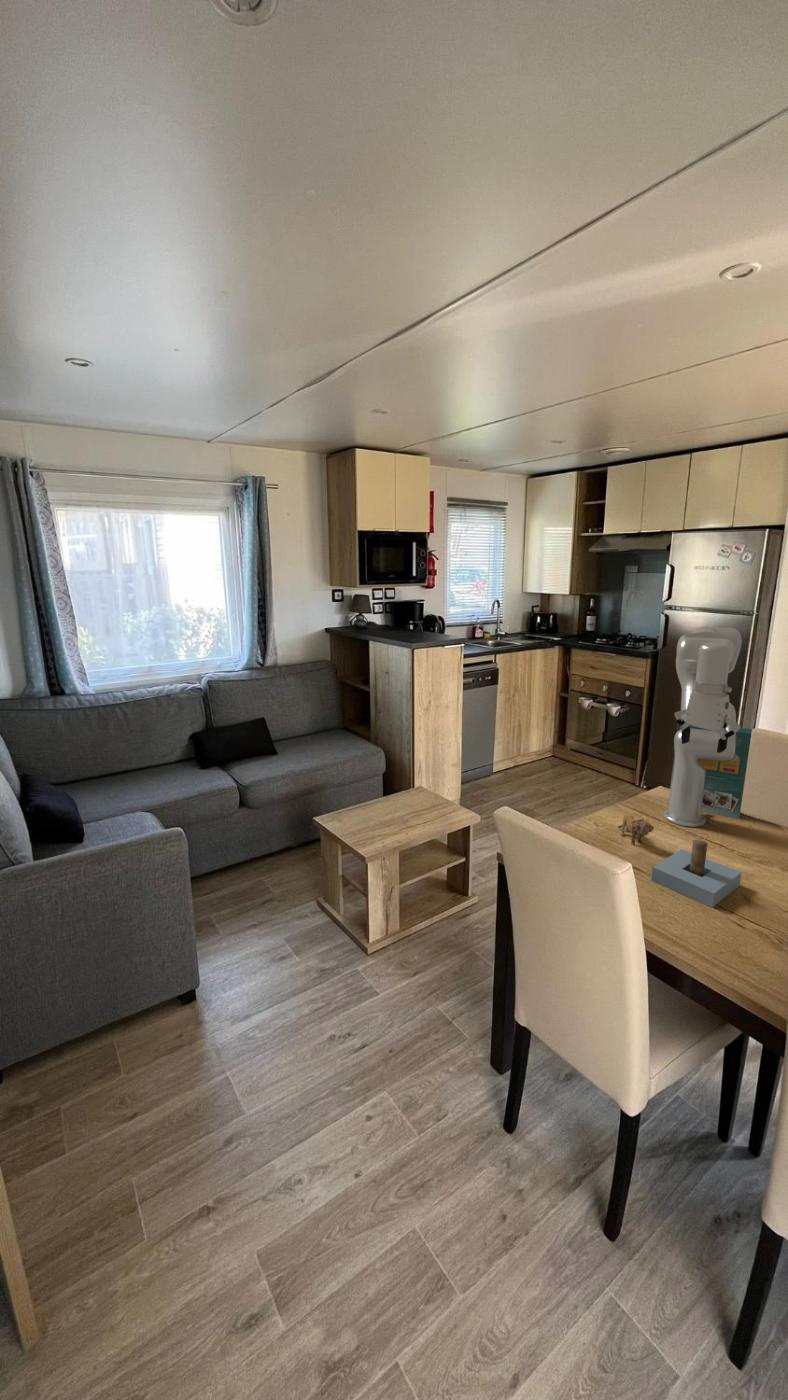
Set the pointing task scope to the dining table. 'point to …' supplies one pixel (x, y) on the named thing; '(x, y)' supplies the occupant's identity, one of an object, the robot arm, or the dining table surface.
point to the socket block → (696, 878)
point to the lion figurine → (636, 828)
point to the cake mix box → (725, 778)
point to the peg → (698, 857)
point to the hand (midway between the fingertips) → (702, 747)
